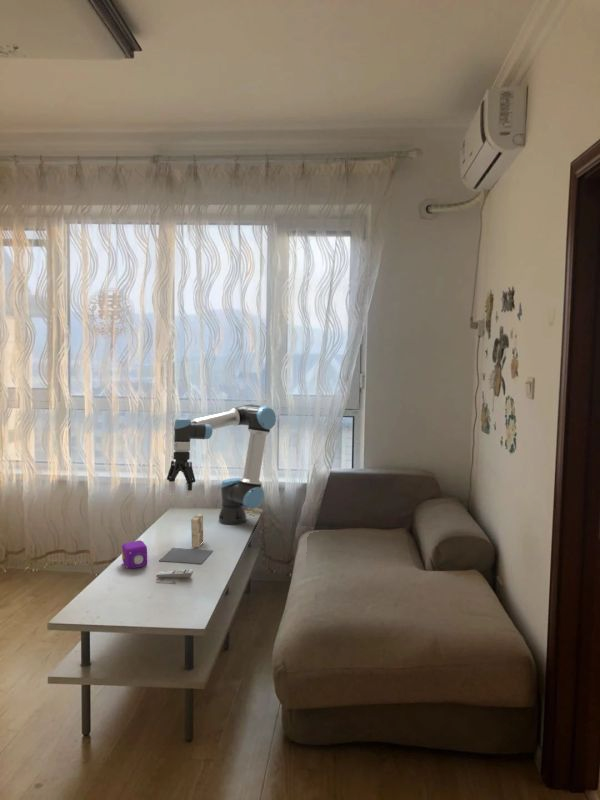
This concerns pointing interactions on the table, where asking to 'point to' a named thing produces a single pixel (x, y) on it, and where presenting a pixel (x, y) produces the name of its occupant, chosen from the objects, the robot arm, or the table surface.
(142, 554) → the toy camera
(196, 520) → the tile
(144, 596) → the table surface
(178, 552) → the mat
